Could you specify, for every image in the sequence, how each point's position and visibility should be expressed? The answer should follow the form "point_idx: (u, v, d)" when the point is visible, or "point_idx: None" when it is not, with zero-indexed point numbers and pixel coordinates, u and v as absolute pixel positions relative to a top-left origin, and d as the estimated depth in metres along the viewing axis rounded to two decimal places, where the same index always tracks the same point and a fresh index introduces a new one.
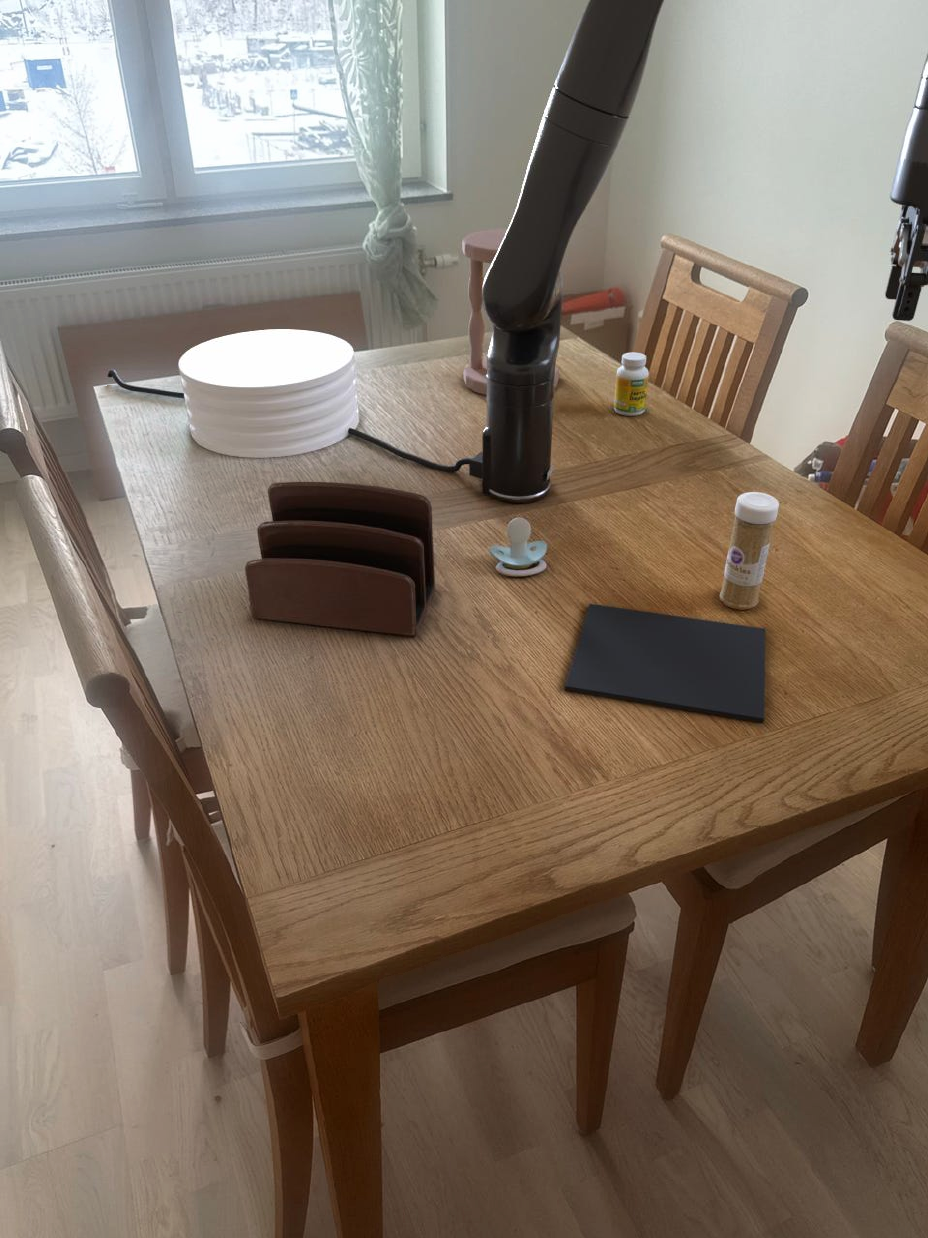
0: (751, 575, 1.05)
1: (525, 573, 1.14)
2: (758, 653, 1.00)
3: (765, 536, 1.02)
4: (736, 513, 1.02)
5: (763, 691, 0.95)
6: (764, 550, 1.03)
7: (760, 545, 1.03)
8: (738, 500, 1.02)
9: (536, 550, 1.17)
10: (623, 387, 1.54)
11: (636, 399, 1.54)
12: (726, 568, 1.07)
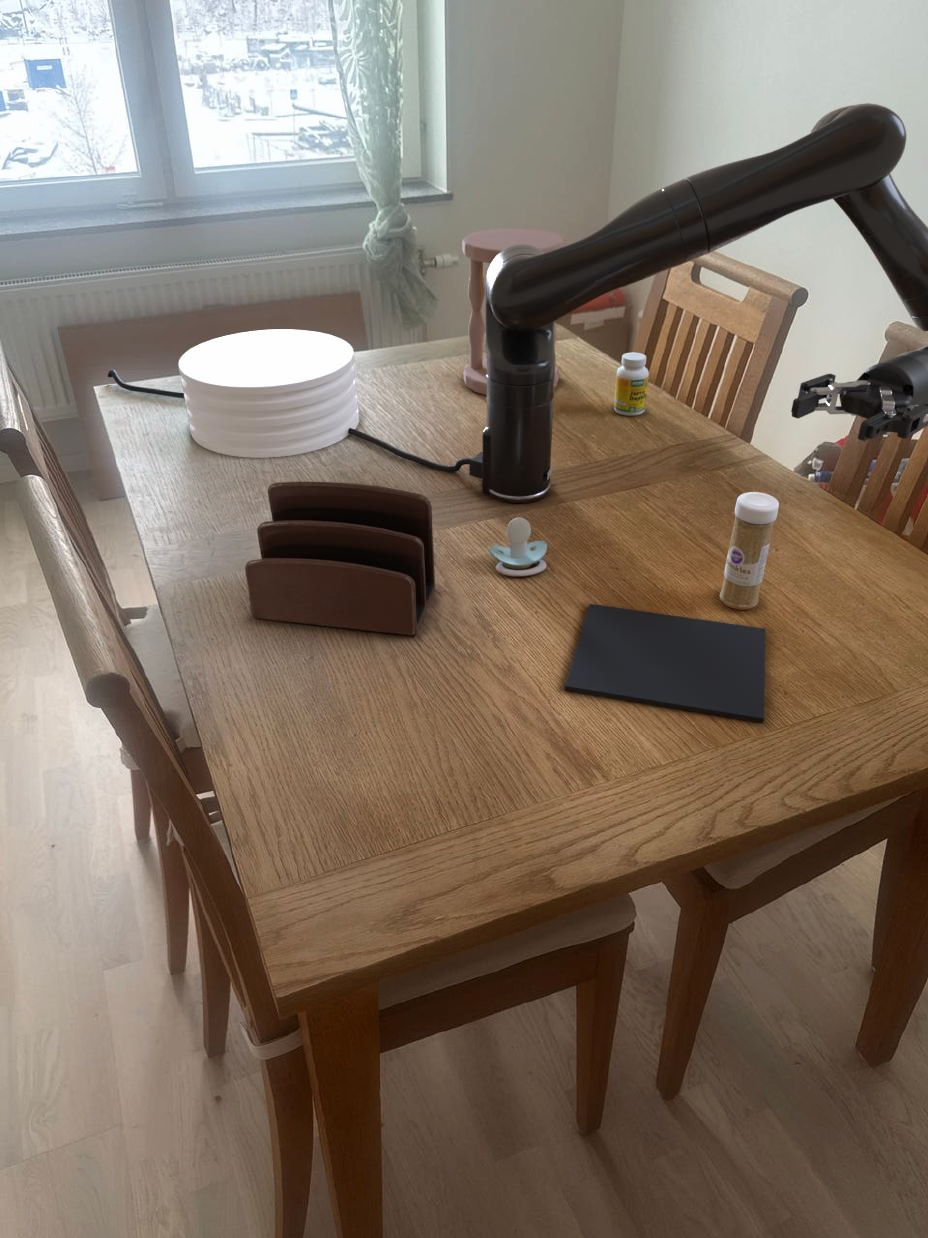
0: (751, 575, 1.05)
1: (525, 573, 1.14)
2: (758, 653, 1.00)
3: (765, 536, 1.02)
4: (736, 513, 1.02)
5: (763, 691, 0.95)
6: (764, 550, 1.03)
7: (760, 545, 1.03)
8: (738, 500, 1.02)
9: (536, 550, 1.17)
10: (623, 387, 1.54)
11: (636, 399, 1.54)
12: (726, 568, 1.07)
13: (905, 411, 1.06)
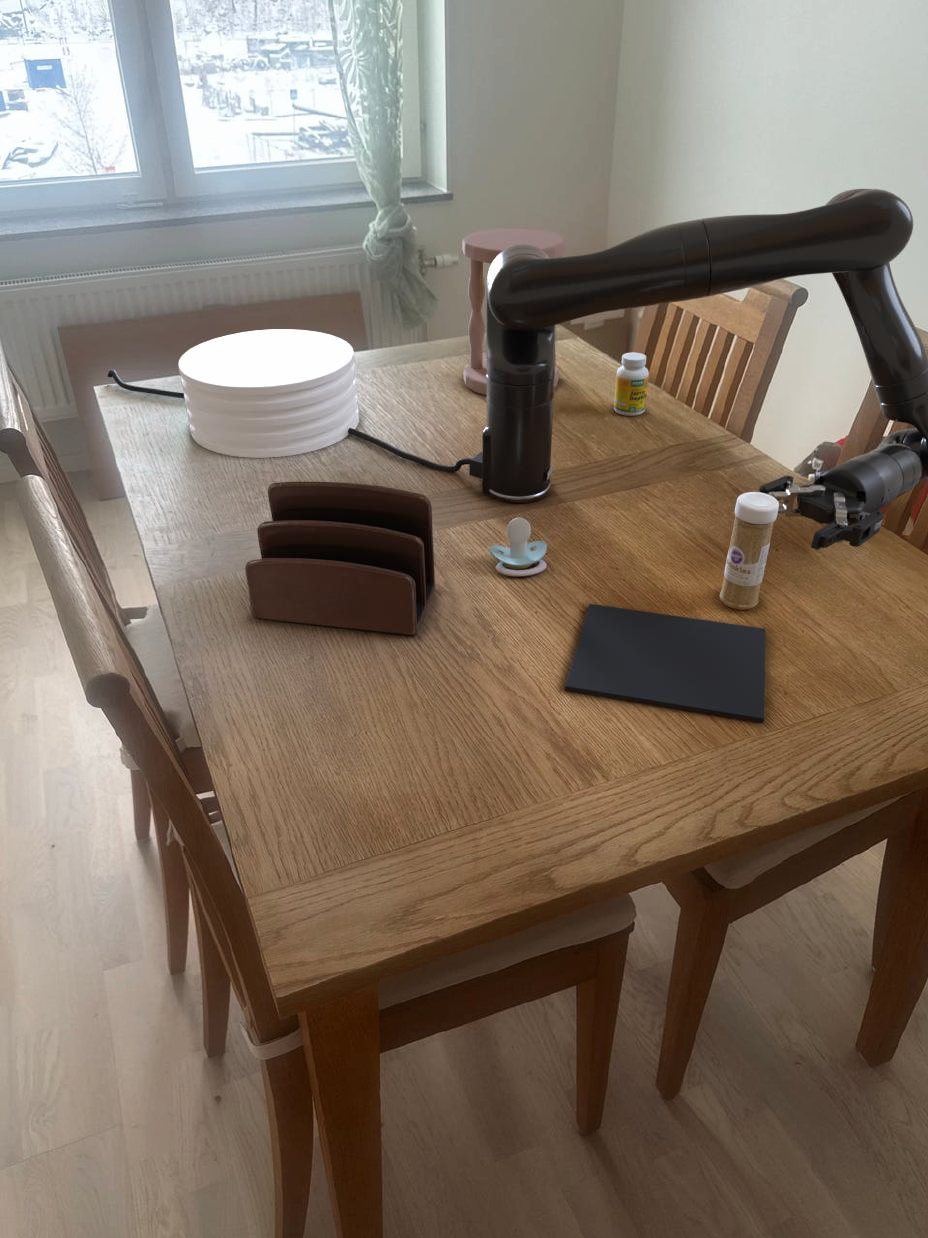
0: (751, 575, 1.05)
1: (525, 573, 1.14)
2: (758, 653, 1.00)
3: (765, 536, 1.02)
4: (736, 513, 1.02)
5: (763, 691, 0.95)
6: (764, 550, 1.03)
7: (760, 545, 1.03)
8: (738, 500, 1.02)
9: (536, 550, 1.17)
10: (623, 387, 1.54)
11: (636, 399, 1.54)
12: (726, 568, 1.07)
13: (858, 517, 1.11)
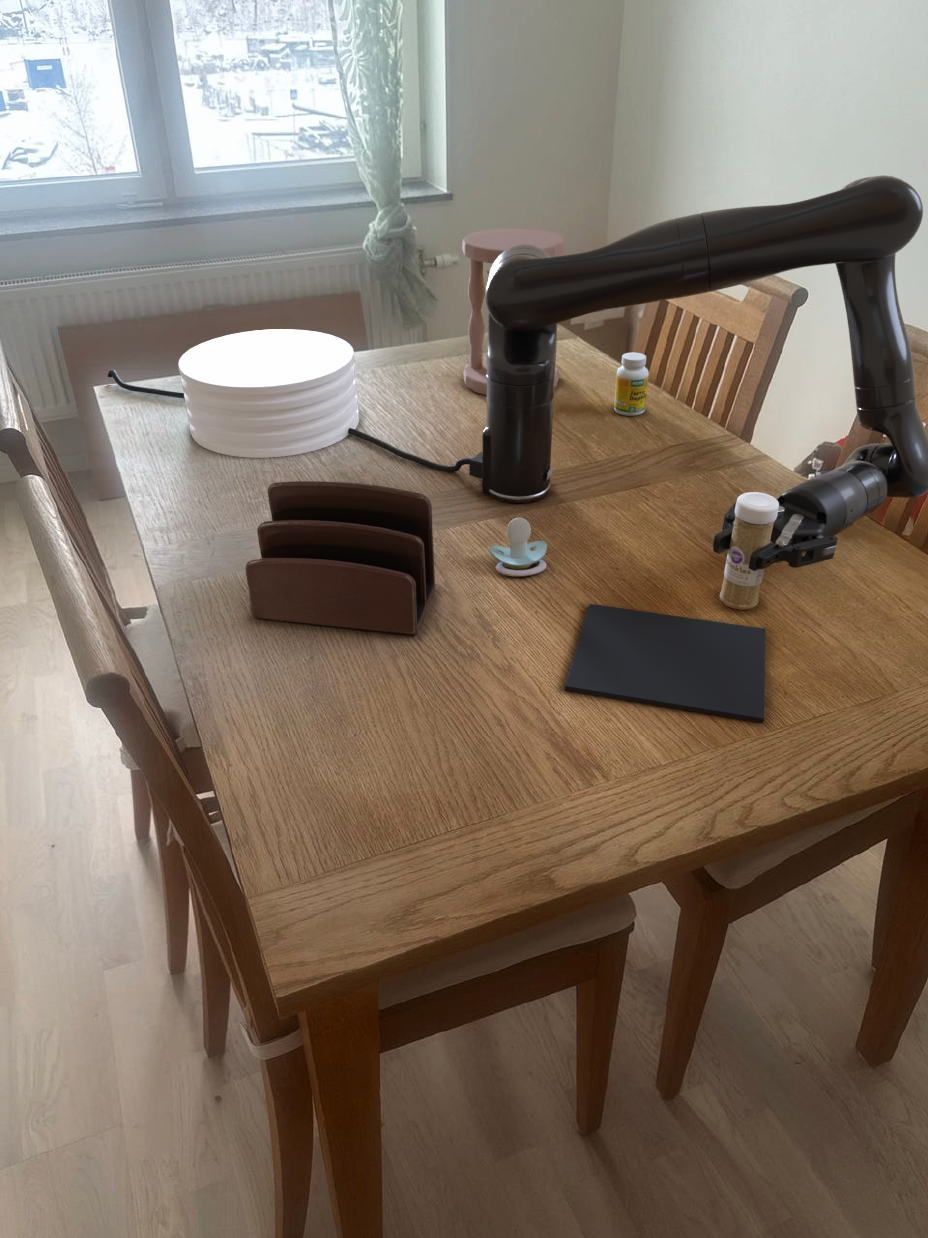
0: (751, 575, 1.05)
1: (525, 573, 1.14)
2: (758, 653, 1.00)
3: (765, 536, 1.02)
4: (736, 513, 1.02)
5: (763, 691, 0.95)
6: None
7: (760, 545, 1.03)
8: (738, 500, 1.02)
9: (536, 550, 1.17)
10: (623, 387, 1.54)
11: (636, 399, 1.54)
12: (726, 568, 1.07)
13: None
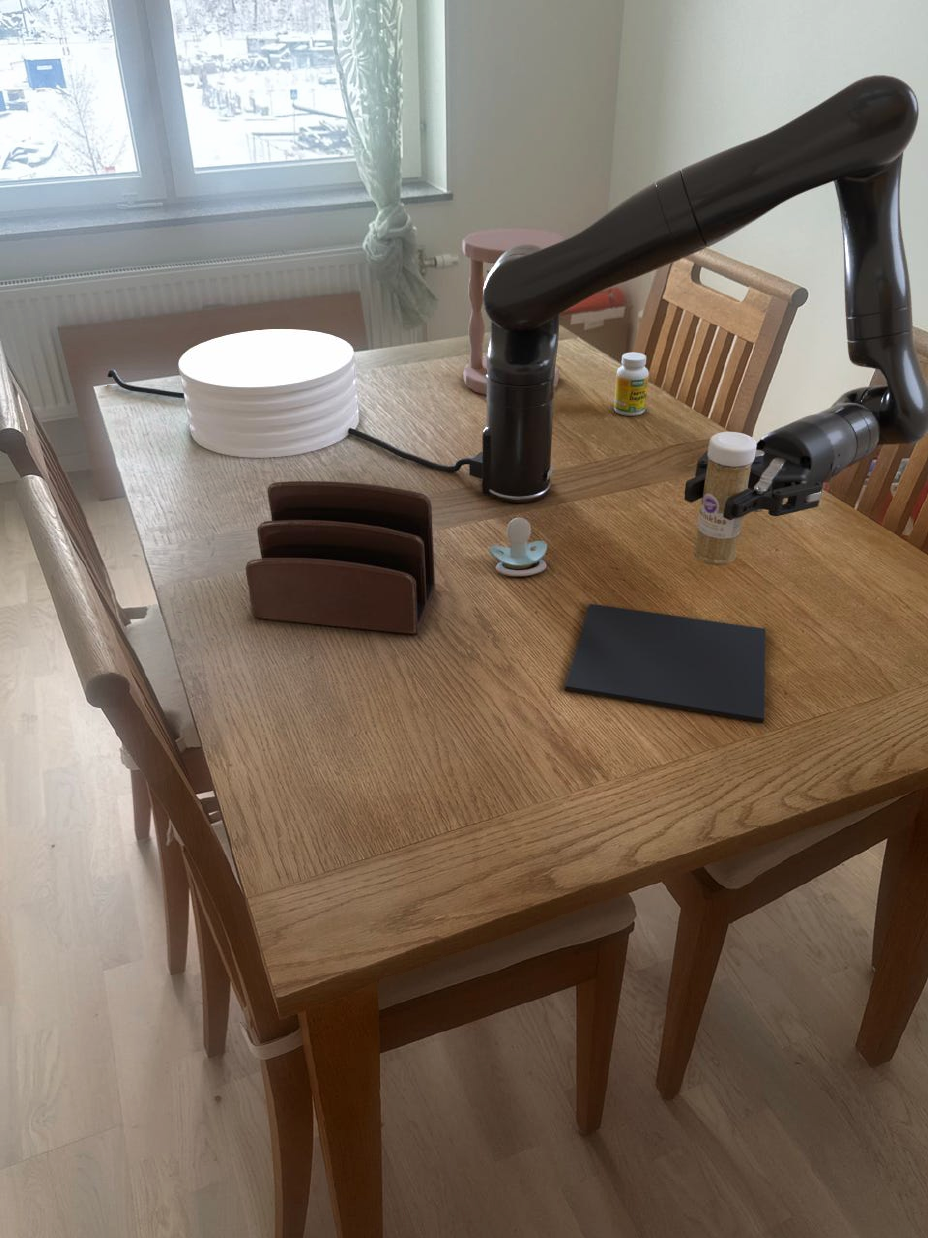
0: (727, 525, 0.94)
1: (525, 573, 1.14)
2: (758, 653, 1.00)
3: (742, 480, 0.91)
4: (709, 455, 0.91)
5: (763, 691, 0.95)
6: None
7: (736, 491, 0.92)
8: (711, 440, 0.91)
9: (536, 550, 1.17)
10: (623, 387, 1.54)
11: (636, 399, 1.54)
12: (699, 519, 0.96)
13: None
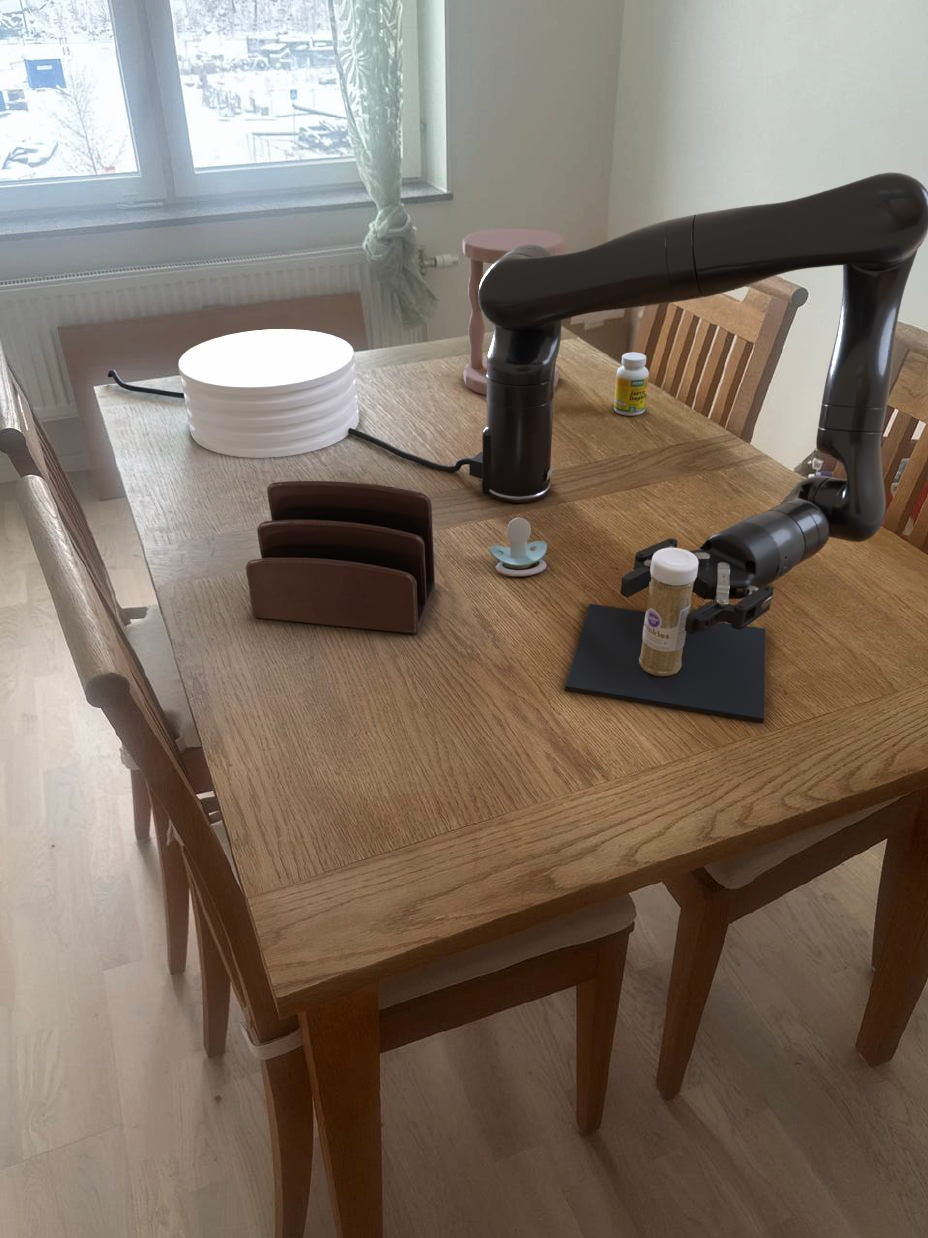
0: (670, 639, 0.94)
1: (525, 573, 1.14)
2: (758, 653, 1.00)
3: (684, 598, 0.91)
4: (651, 572, 0.91)
5: (763, 691, 0.95)
6: (683, 613, 0.92)
7: (678, 608, 0.92)
8: (653, 558, 0.91)
9: (536, 550, 1.17)
10: (623, 387, 1.54)
11: (636, 399, 1.54)
12: (644, 631, 0.96)
13: (745, 592, 0.95)
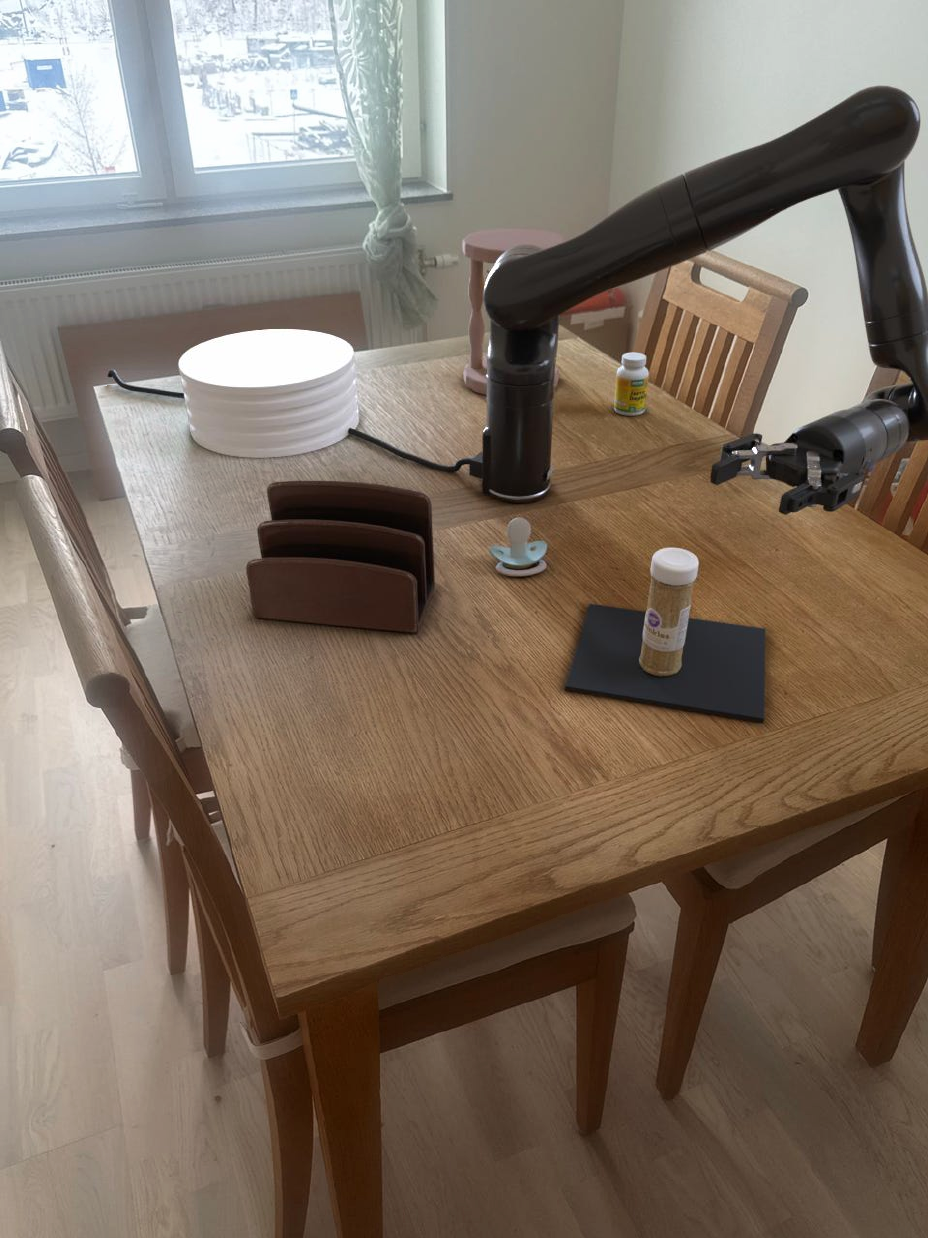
0: (670, 639, 0.94)
1: (525, 573, 1.14)
2: (758, 653, 1.00)
3: (684, 598, 0.91)
4: (651, 572, 0.91)
5: (763, 691, 0.95)
6: (683, 613, 0.92)
7: (679, 608, 0.92)
8: (653, 558, 0.91)
9: (536, 550, 1.17)
10: (623, 387, 1.54)
11: (636, 399, 1.54)
12: (644, 631, 0.96)
13: (834, 479, 0.96)
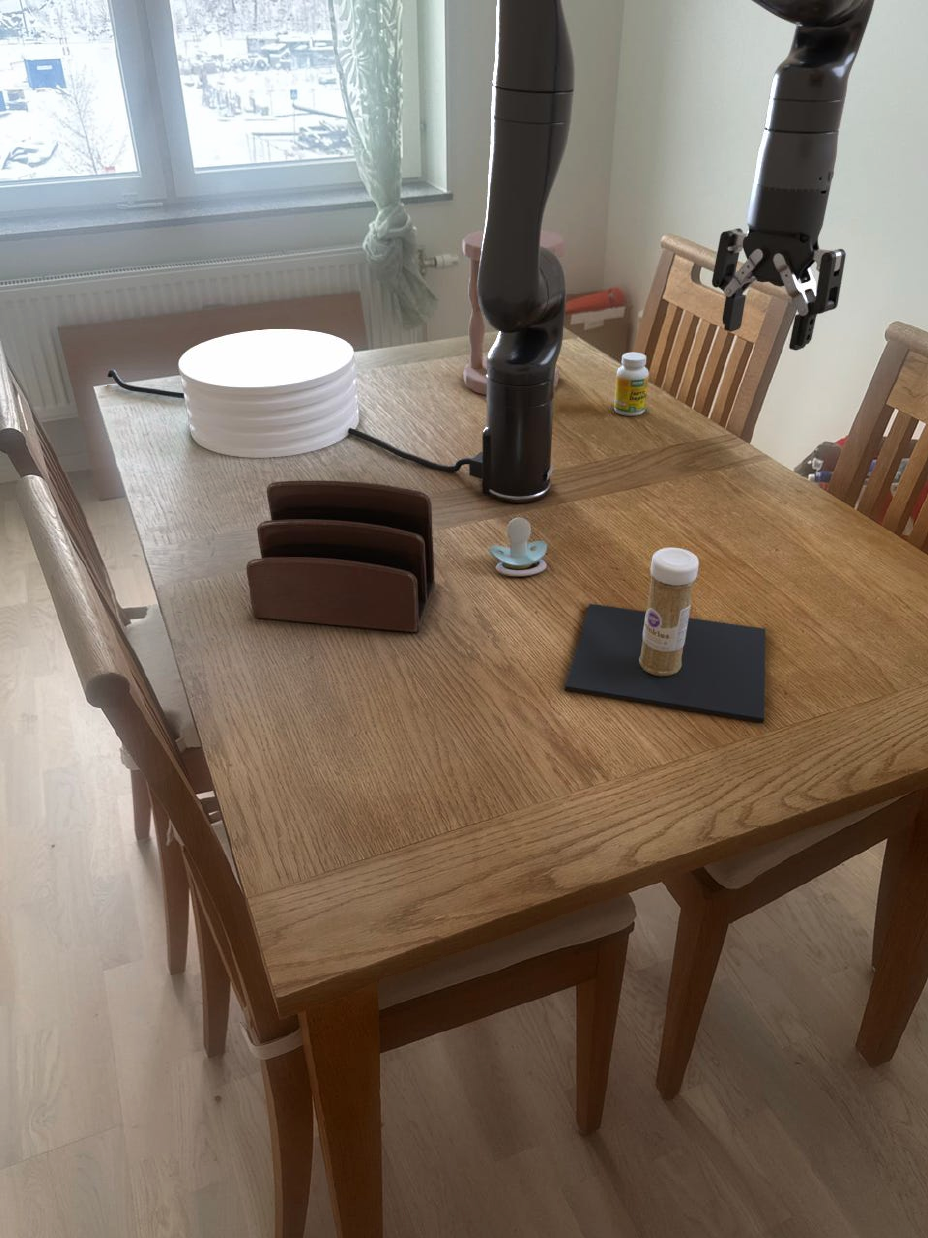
0: (670, 639, 0.94)
1: (525, 573, 1.14)
2: (758, 653, 1.00)
3: (684, 598, 0.91)
4: (651, 572, 0.91)
5: (763, 691, 0.95)
6: (683, 613, 0.92)
7: (679, 608, 0.92)
8: (653, 558, 0.91)
9: (536, 550, 1.17)
10: (623, 387, 1.54)
11: (636, 399, 1.54)
12: (644, 631, 0.96)
13: None
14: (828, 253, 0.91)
